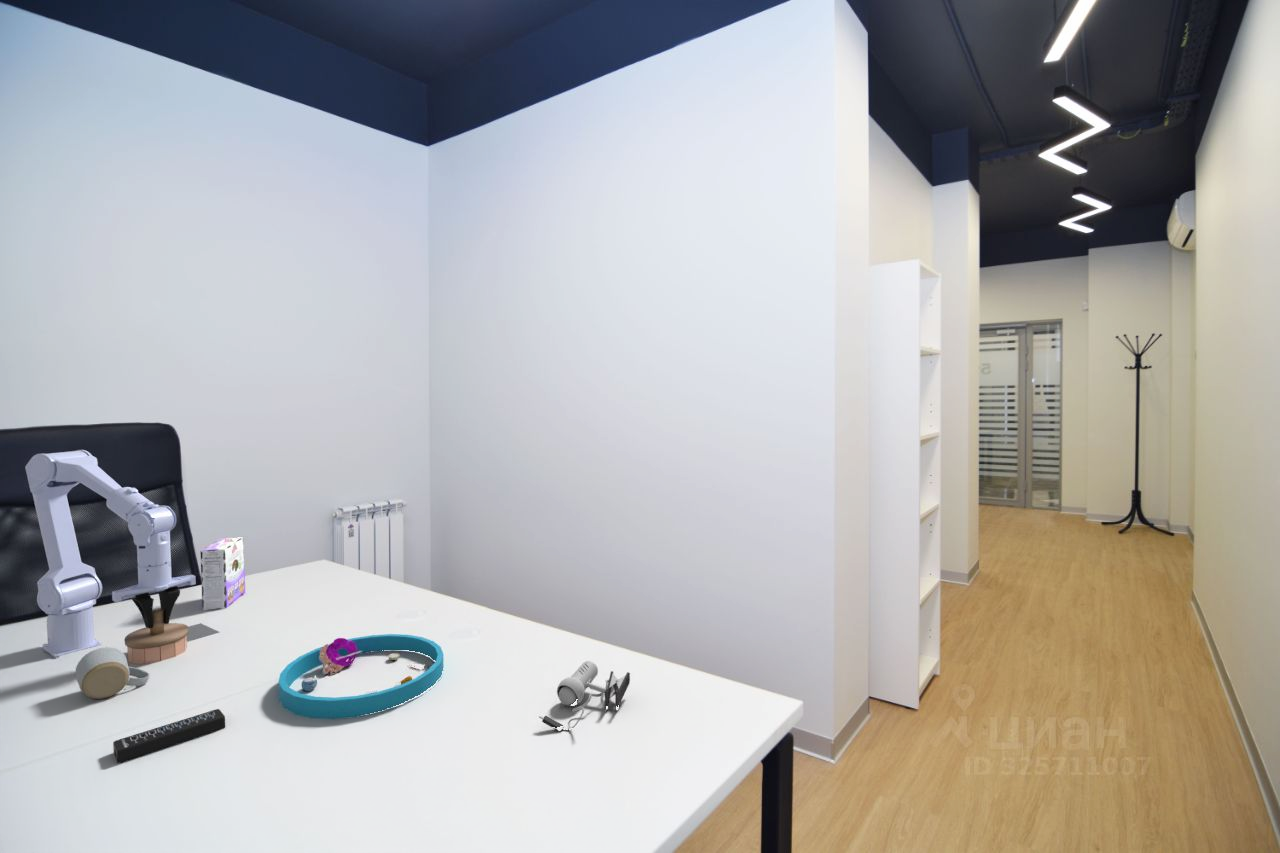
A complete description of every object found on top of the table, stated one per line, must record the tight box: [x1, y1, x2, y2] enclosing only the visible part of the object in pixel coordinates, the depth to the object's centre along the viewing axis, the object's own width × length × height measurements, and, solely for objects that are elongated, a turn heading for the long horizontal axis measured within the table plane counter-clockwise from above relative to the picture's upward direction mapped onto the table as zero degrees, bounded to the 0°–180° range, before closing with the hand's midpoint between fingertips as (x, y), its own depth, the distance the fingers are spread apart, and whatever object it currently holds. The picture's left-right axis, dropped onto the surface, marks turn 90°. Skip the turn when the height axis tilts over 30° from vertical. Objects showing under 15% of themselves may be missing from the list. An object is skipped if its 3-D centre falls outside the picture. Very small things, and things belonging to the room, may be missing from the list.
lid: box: [124, 608, 189, 648], centre depth 137 cm, size 11×11×6 cm
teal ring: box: [278, 633, 445, 720], centre depth 126 cm, size 30×30×6 cm
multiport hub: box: [112, 708, 226, 764], centre depth 104 cm, size 4×14×2 cm, turn 137°
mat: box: [187, 622, 220, 643], centre depth 148 cm, size 10×10×1 cm
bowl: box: [126, 636, 188, 665], centre depth 137 cm, size 10×10×4 cm
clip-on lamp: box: [538, 660, 631, 729], centre depth 114 cm, size 12×6×18 cm
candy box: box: [199, 536, 246, 611], centre depth 170 cm, size 14×6×16 cm, turn 14°
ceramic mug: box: [75, 646, 150, 700], centre depth 121 cm, size 11×8×8 cm
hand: (157, 624), depth 137 cm, fingers closed on lid, 2 cm apart
